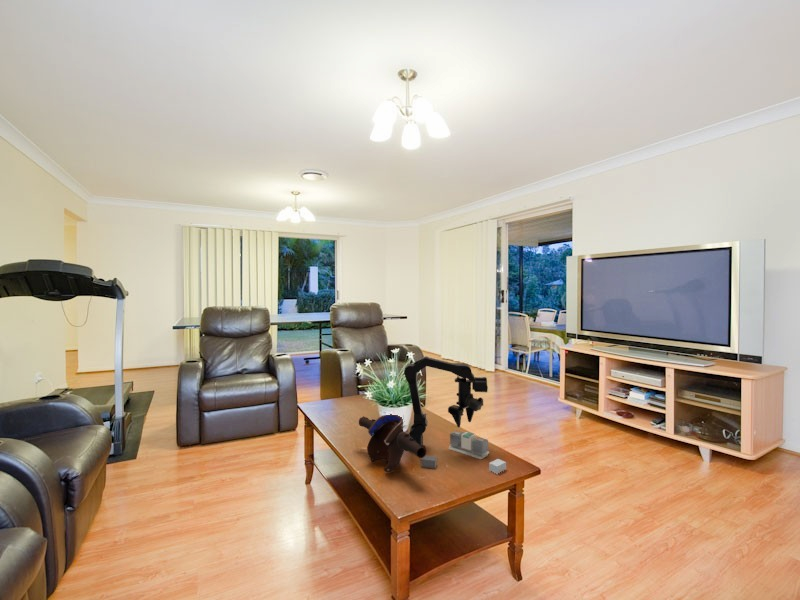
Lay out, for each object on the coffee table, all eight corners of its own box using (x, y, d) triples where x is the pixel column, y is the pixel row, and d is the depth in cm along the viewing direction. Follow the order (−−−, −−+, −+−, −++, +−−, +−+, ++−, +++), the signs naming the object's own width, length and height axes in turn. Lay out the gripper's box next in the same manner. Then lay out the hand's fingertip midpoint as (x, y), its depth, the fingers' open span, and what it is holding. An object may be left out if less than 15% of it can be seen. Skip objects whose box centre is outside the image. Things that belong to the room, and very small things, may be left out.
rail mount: (481, 459, 168) (481, 443, 168) (449, 448, 179) (449, 433, 179) (489, 454, 173) (489, 438, 173) (457, 444, 184) (457, 429, 184)
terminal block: (497, 474, 155) (497, 466, 154) (489, 471, 158) (489, 462, 158) (506, 470, 158) (506, 462, 158) (498, 466, 161) (498, 458, 161)
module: (461, 447, 176) (461, 434, 176) (466, 444, 179) (466, 431, 179) (470, 450, 173) (470, 437, 172) (475, 447, 176) (475, 434, 176)
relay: (435, 469, 160) (435, 460, 160) (421, 467, 161) (421, 459, 161) (436, 464, 164) (436, 456, 164) (422, 463, 165) (422, 455, 165)
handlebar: (349, 451, 177) (349, 408, 177) (372, 444, 185) (372, 403, 184) (409, 491, 142) (409, 438, 141) (435, 481, 150) (435, 430, 149)
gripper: (468, 399, 165) (468, 434, 166) (490, 390, 179) (489, 423, 180) (447, 394, 173) (447, 428, 173) (469, 386, 187) (469, 418, 187)
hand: (464, 424), depth 178 cm, fingers open, 9 cm apart
